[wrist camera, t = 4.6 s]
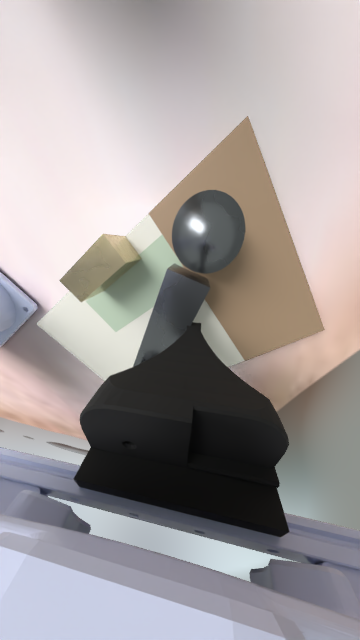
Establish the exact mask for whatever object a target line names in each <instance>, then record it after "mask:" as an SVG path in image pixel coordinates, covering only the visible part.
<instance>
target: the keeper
mask: <svg viewBox="0 0 360 640" xmlns="http://www.w3.org/2000/svg"><path fill="white" fill-rule="evenodd" d="M141 259H142V258H141V257H140V255H139V254H138V253H137V251H136V250H135V248H134V247H133V246H132V244H131V243H130V242H129V240H128V239H127V238H126V236H117V235H108V234H103V235H102V236H101V237H100V238H99V239H98V240H97V241H96V242H95V243H94V244H93V245H92V246H91V247H90V248H89V250H88V251H87V252H86V253H85V254H84V255H83V256H82V257H81V258H80V259H79V260H78V261H77V262H76V263H75V265H74V266H73V267H72V268H71V269H70V270H69V271H68V272H67V273H66V274H65V275H64V276H63V277H62V278H61V280H60V282H61V283H62V284H63V285H64V286H65V287H66V288H67V289H68V290H69V291H70V292H71V293H72V294H73V295H74V296H75V297H76V298H77V299H78V300H79V301H80V302H83V301H85V300H87V299H89V298H91V297H93V296H95V295H97V294H99V293H101V292H103V291H105V290H106V289H107V288H108V287H109V286H111V285H112V284H113V283H114V282H115V281H116V280H118V279H119V278H120V277H121V276H122V275H123V274H125V273H126V272H127V271H128V270H129V269H131V268H132V267H133V266H134V265H135V264H136V263H138V262H139V261H140V260H141Z"/></svg>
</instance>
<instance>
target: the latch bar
mask: <svg viewBox="0 0 360 640" xmlns="http://www.w3.org/2000/svg"><path fill="white" fill-rule="evenodd" d="M244 237H245V219H244V215H243V212H242V210H241V208H240V206H239V204H238V203H237V202H236V200H235V199H234V198H232V197H231V196H230V195H228V194H227V193H225V192H222V191H218V190H205V191H202V192H199V193H197V194H195V195H193V196H192V197H190V198H189V199H188V200H187V201H186V202H185V203H184V204H183V205H182V206H181V208H180V209H179V211H178V213H177V215H176V217H175V219H174V223H173V227H172V244H173V248H174V251H175V253H176V256H177V257H178V259H179V260H180V262H181V263H182V264H183V265H184V266H185V267H187V268H188V269H190V270H192V271H190V270H188V269H186V268H184V267H181V266H179V265H177V264H175V263H174V264H172V265H171V266H170V267H169V268H167V271H166V273H165V276H164V279H163V282H162V285H161V288H160V291H159V294H158V296H157V299H156V302H155V305H154V308H153V311H152V314H151V316H150V319H149V322H148V325H147V328H146V331H145V334H144V337H143V339H142V342H141V345H140V348H139V351H138V354H137V357H136V360H135V362H134V365H133V367H134V366H136V365H139V364H141V363H143V362H145V361H147V360H149V359H151V358H153V357H154V356H156V355H157V354H159V353H161V352H162V351H164V350H165V349H166V348H168V347H169V346H170V345H172V344H173V343H174V342H175V341H176V340H177V339H178V338H179V337H180V336H181V335H182V334H183V333H184V332H185V331H186V329H187V326H191V324H192V322H193V320H194V319H195V317H196V315H197V313H198V311H199V309H200V307H201V305H202V303H203V301H204V299H205V298H206V296H207V294H208V292H209V290H210V285H209V281H208V278H206V277H204V276H201V275H199V274H197V273H203V274H208V273H214V272H217V271H219V270H221V269H223V268H225V267H226V266H228V265H229V264H230V263H231V262H232V261H233V260H234V259H235V257H236V256H237V254H238V253H239V251H240V249H241V247H242V244H243V241H244ZM193 271H194V272H193ZM195 272H197V273H195Z"/></svg>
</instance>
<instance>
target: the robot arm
mask: <svg viewBox="0 0 360 640" xmlns="http://www.w3.org/2000/svg"><path fill="white" fill-rule="evenodd" d="M37 308H38V307H37V304H36V303H35V302H34V301H33V300H31V299H30V298H29V297H28V296H27V295H26V294H25V293H24V292H22V291H21V290H20V289H19V288H18V287H17V286H16V285H15V284H13V283H12V282H11V281H10V280H9V279H8V278H7V277H6V276H4V275H3V274H2V273H1V272H0V347H2V346H3V345H4V344H5V342H6V341H7V340H8V339H9V338H10V337H11V336H12V335H13V334H14V333H15V332H16V331H17V330H18V329H19V328H20V327H21V326H22V325H23V324H24V323H25V322H26V321H27V319H28V318H29V317H30V316H31V315H32V314H33V313H34V312H35V311H36V310H37ZM80 424H81V427H82V430H83V432H84V434H85V436H86V438H87V440H88V442H89V444H90V446H91V448H90V450H89V452H88V454H87V455H86V457H85V459H84V461H83V462H82V464H81V466H79V465H75V464H70V463H66V462H62V461H57V460H54V459H49V458H45V457H40V456H36V455H32V454H28V453H23V452H18V451H15V450H10V449H6V448H1V447H0V640H360V530H356V529H351V528H347V527H342V526H338V525H334V524H330V523H325V522H321V521H317V520H312V519H308V518H304V517H300V516H295V515H291V514H287V513H284V511H283V508H282V504H281V501H280V498H279V494H278V491H277V488H278V487H279V480H278V477H277V473H276V470H275V466H276V464H277V463H278V462H279V460H280V459H281V457H282V456H283V455H284V454H285V452H286V450H287V447H288V445H289V442H288V436H287V434H286V432H285V429H284V427H283V425H282V423H281V421H280V418H279V416H278V414H277V412H276V411H275V409H274V407H273V405H272V404H271V402H270V400H269V399H268V398H267V397H265V396H264V395H262V394H261V393H259V392H258V391H257V390H255V389H254V388H252V387H251V386H249V385H248V384H247V383H245V382H244V381H243V380H242V379H240V378H239V377H238V376H237V375H236V374H234V373H233V372H232V371H231V370H230V369H229V368H228V367H227V366H226V365H225V364H224V363H223V362H222V361H221V360H220V359H219V358H218V357H217V356H216V354H215V353H214V352H213V351H212V349H211V348H210V346H209V345H208V343H207V342H206V340H205V338H204V336H203V334H202V332H201V323H195V322H192V324H191V326H187V329H186V331H185V332H184V333H183V334H182V335H181V336H180V337H179V338H178V339H177V340H176V341H175V342H174V343H173V344H172V345H170V346H169V347H168V348H166V349H165V350H164V351H162V352H161V353H159V354H157V355H156V356H154V357H153V358H151V359H149V360H147V361H145V362H143V363H141V364H139V365H136V366H134V367H132V368H129V369H127V370H124V371H121V372H119V373H116V374H113V375H110V376H109V377H108V378H107V380H106V381H105V382H104V383H103V384H102V385H101V387H100V388H99V389H98V391H97V392H96V393H95V395H94V396H93V397H92V399H91V400H90V402H89V403H88V404H87V406H86V407H85V408H84V410H83V411H82V413H81V415H80ZM276 487H277V488H276ZM47 495H48V496H52V497H55V498H59V499H63V500H67V501H71V502H74V503H78V504H82V505H86V506H89V507H93V508H97V509H101V510H105V511H108V512H112V513H116V514H120V515H124V516H127V517H131V518H135V519H139V520H143V521H146V522H150V523H154V524H157V525H161V526H165V527H169V528H173V529H177V530H181V531H184V532H188V533H192V534H195V535H199V536H203V537H207V538H210V539H214V540H218V541H222V542H225V543H229V544H233V545H237V546H241V547H245V548H248V549H252V550H256V551H259V552H263V553H267V554H271V555H275V556H278V557H282V558H286V559H290V560H293V561H297V562H290V561H283V560H275V559H271V560H270V562H269V564H268V566H266V567H264V568H259V569H251V571H250V580H251V582H249V581H245V580H242V579H240V578H237V577H233V576H230V575H227V574H224V573H221V572H218V571H215V570H212V569H209V568H206V567H203V566H200V565H196V564H193V563H190V562H186V561H183V560H180V559H177V558H174V557H170V556H167V555H163V554H160V553H157V552H153V551H149V550H146V549H143V548H139V547H136V546H132V545H129V544H125V543H121V542H118V541H114V540H110V539H106V538H102V537H98V536H95V535H91V534H89V532H90V530H91V528H90V525H89V524H88V523H86V522H85V521H83V520H82V519H80V518H79V517H78V516H77V515H76V514H75V513H73V510H72V509H71V507H70V506H68V505H66V504H63V503H61V502H58V501H56V500H54V499H51V498H49V497H48V496H47ZM298 562H301V563H298Z"/></svg>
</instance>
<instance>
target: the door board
mask: <svg viewBox="0 0 360 640" xmlns="http://www.w3.org/2000/svg"><path fill="white" fill-rule="evenodd" d="M205 190H218V191H222V192H225V193H227V194H228V195H230V196H231V197H232V198H234V199H235V200H236V202H237V203H238V204H239V206H240V208H241V210H242V212H243V215H244V219H245V237H244V241H243V244H242V247H241V249H240V251H239V253H238V254H237V256H236V257H235V259H234V260H233V261H232V262H231V263H230V264H229V265H228V266H226V267H225V268H223V269H221V270H219V271H217V272H214V273H208V274H203V273H197V272H195V273H197V274H199V275H201V276H204V277H206V278H208V281H209V285H210V290H209V292H208V294H207V296H206V298H205V299H204V301H203V303H202V305H201V307H200V309H199V311H198V313H197V315H196V317H195V319H194V320H193V322H195V323H201V332H202V334H203V336H204V338H205V340H206V342H207V343H208V345H209V346H210V348H211V349H212V351H213V352H214V353H215V354H216V356H217V357H218V358H219V359H220V360H221V361H222V362H223V363H224V364H225V365H226V366H227V367H230V366H233V365H235V364H238V363H240V362H243V361H246V360H249V359H251V358H254V357H256V356H259V355H262V354H264V353H267V352H269V351H272V350H274V349H277V348H279V347H282V346H285V345H287V344H290V343H292V342H295V341H297V340H300V339H302V338H305V337H308V336H310V335H313V334H315V333H318V332H320V331H323V330H324V327H323V324H322V322H321V319H320V316H319V313H318V310H317V308H316V305H315V302H314V299H313V296H312V294H311V291H310V288H309V285H308V282H307V280H306V277H305V274H304V271H303V268H302V266H301V263H300V260H299V257H298V254H297V252H296V249H295V246H294V243H293V240H292V238H291V235H290V232H289V229H288V226H287V224H286V221H285V218H284V215H283V212H282V210H281V207H280V204H279V201H278V199H277V196H276V193H275V190H274V187H273V185H272V182H271V179H270V176H269V173H268V171H267V168H266V165H265V162H264V159H263V157H262V154H261V151H260V148H259V145H258V143H257V140H256V137H255V134H254V131H253V129H252V126H251V123H250V120H249V117H248V116H247V117H246V118H245V119H244V120H243V121H242V122H241V123H240V124H239V125H238V126H237V127H236V128H235V129H234V130H233V131H232V132H231V133H230V134H229V135H228V136H227V137H226V138H225V139H224V140H223V141H222V142H221V143H220V144H219V145H218V146H217V147H216V148H215V149H214V150H213V151H212V152H211V153H210V154H209V155H208V156H207V157H206V158H205V159H204V160H202V161H201V162H200V163H199V164H198V165H197V166H196V167H195V168H194V169H193V170H192V171H191V172H190V173H189V174H188V175H187V176H186V177H185V178H184V179H183V180H182V181H181V182H180V183H179V184H178V185H177V186H176V187H175V188H174V189H173V190H172V191H171V192H170V193H169V194H168V195H167V196H166V197H165V198H164V199H163V200H162V201H161V202H160V203H159V204H158V205H157V206H156V207H155V208H154V209H153V210H152V211H151V212H149V214H148V215H147V216H146V217H145V218H144V219H143V220H142V221H141V222H140V223H139V224H138V225H137V226H136V227H135V228H134V229H132V230H131V231H130V232H129V233H128V234H127V235H126V238H127V239H128V240H129V242H130V243H131V244H132V246H133V247H134V248H135V250H136V251H137V253H138V254H139V255H140V257H141V258H142V259H141V260H140V261H139V262H138V263H136V264H135V265H134V266H133V267H132V268H131V269H129V270H128V271H127V272H126V273H125V274H123V275H122V276H121V277H120V278H119V279H118V280H116V281H115V282H114V283H113V284H112V285H111V286H109V287H108V288H107V289H106V290H105V291H103V292H101V293H99V294H97V295H95V296H93V297H91V298H89V299H87V300H85V301H83V302H80V301H79V300H78V299H77V298H76V297H75V296H74V295H73V294H72V293H71V292H70V291H69V292H68V293H67V294H66V295H65V296H64V297H63V298H62V299H61V300H60V301H59V302H58V303H57V304H56V305H55V306H54V307H53V308H52V309H51V310H50V311H49V312H48V313H47V314H46V315H45V316H44V317H43V318H42V319H41V320H40V321H39V322H38V323H37V325H38V326H39V327H40V328H41V329H43V330H44V331H45V332H46V333H47V334H49V335H50V336H51V337H52V338H53V339H55V340H56V341H57V342H58V343H59V344H61V345H62V346H63V347H64V348H65V349H66V350H68V351H69V352H70V353H71V354H72V355H74V356H75V357H76V358H77V359H78V360H80V361H81V362H82V363H83V364H84V365H86V366H87V367H88V368H89V369H90V370H91V371H93V372H94V373H95V374H96V375H97V376H99V377H100V378H101V379H102V380H103V381H106V380H107V378H108V377H109V376H110V375H113V374H116V373H119V372H121V371H124V370H127V369H129V368H132V367H133V365H134V362H135V360H136V357H137V354H138V351H139V348H140V345H141V342H142V339H143V337H144V334H145V331H146V328H147V325H148V322H149V319H150V316H151V314H152V311H153V308H154V305H155V302H156V299H157V296H158V294H159V291H160V288H161V285H162V282H163V279H164V276H165V273H166V271H167V268H169V267H170V266H171V265H172V264H174V263H175V264H177V265H179V266H181V267H184V268H186V269H188V268H187V267H185V266H184V265H183V264H182V263H181V262H180V260H179V259H178V257H177V256H176V253H175V251H174V248H173V244H172V227H173V223H174V219H175V217H176V215H177V213H178V211H179V209H180V208H181V206H182V205H183V204H184V203H185V202H186V201H187V200H188V199H189V198H190V197H192V196H193V195H195V194H197V193H199V192H202V191H205ZM188 270H190V269H188ZM190 271H192V270H190ZM193 272H194V271H193Z"/></svg>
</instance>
